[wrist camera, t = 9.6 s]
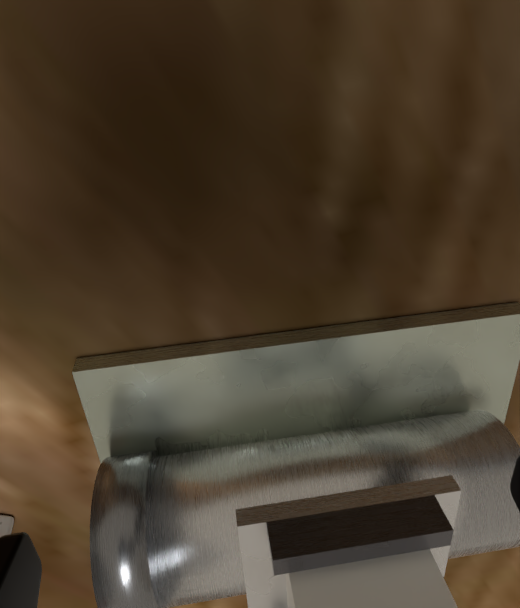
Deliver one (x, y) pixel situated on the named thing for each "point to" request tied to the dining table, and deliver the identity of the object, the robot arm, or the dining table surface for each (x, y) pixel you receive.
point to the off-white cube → (372, 584)
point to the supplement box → (6, 525)
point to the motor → (299, 454)
